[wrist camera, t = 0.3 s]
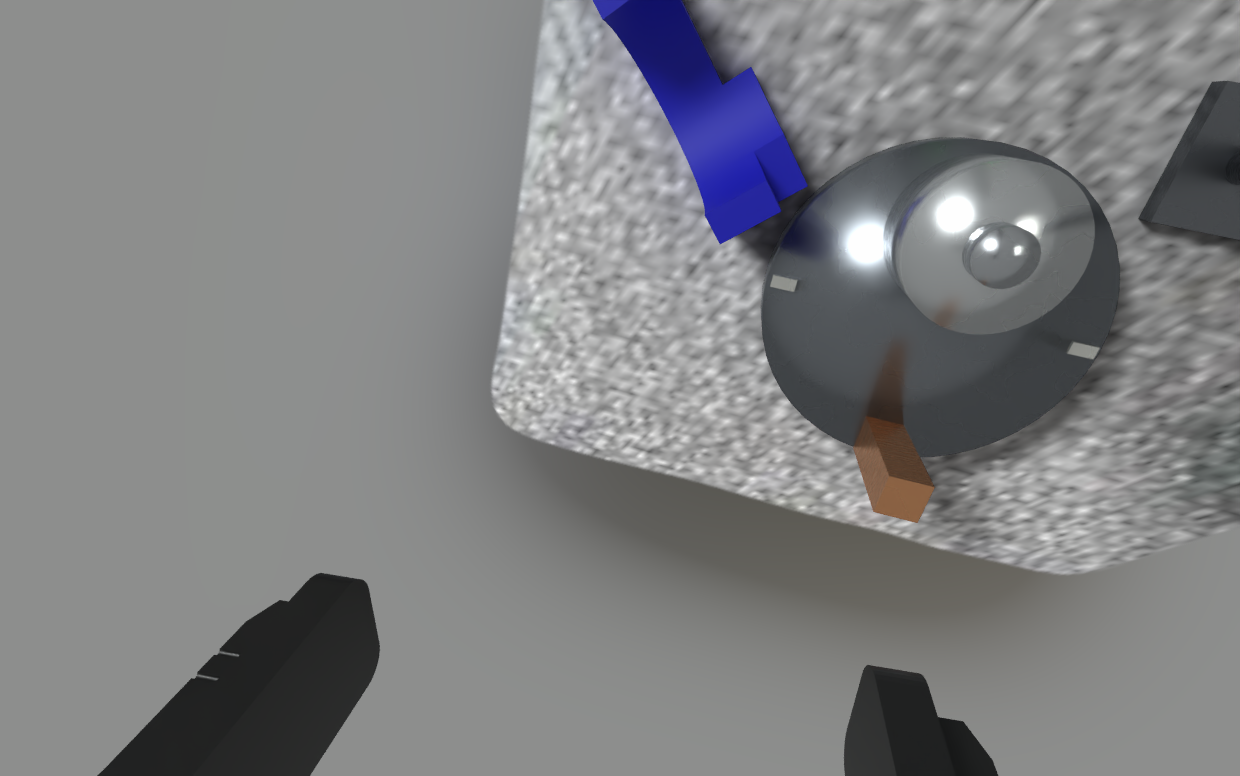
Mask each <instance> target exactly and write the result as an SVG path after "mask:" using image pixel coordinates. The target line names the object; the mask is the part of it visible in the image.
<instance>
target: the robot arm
mask: <svg viewBox="0 0 1240 776" xmlns="http://www.w3.org/2000/svg"><path fill="white" fill-rule="evenodd" d="M379 651H380V645H379V640H378V634H377V629H376V623H375V618H374V614H373V608H372V603H371V598H370V593H369V588H368V585H367V583H366V582H365V581H364V580H361V579H354V578H349V577H342V576H336V575H330V574H324V573H319V574H316V575H314V576H313V577H311V578H310V579H309V580H308V581H307V582H306V583H305V584H304V585H303V586H302V588H301V589H300V590H299V591H298V592H297V593H296V594H295V595H294V596H293V597H292V598H291V600H290V601H289V602H287V601H282V600H279V601H278V602H276V603H275V604H273V605H271V606H270V607H268V608H267V609H265V610H264V611H262V612H261V613H259V614H257V615H256V616H254V617H253V618H251V619H249V620H248V621H246V622H245V623H244V624H243V625H242V626H241V627H240V628H239V629H238V631H237V632H236V633H235V634H234V635H233V636H232V637H231V638H230V639H229V640H228V641H227V642H226V643H225V644H224V645H223V646H222V647H221V648H220V651H219V654H218V655H214V656H213V657H212V658H211V659H210V660H209V661H208V662H207V663H206V664H205V665H204V666H203V667H202V668H201V669H200V670H199V671H198V673H197V676H196V678H195V679H192V678H191V679H190V680H189V682H188V683H187V684H186V685H185V686H184V687H183V688H182V689H181V690H180V691H179V692H178V693H177V694H176V695H175V696H174V697H173V698H172V699H171V700H170V701H169V702H168V703H167V704H166V705H165V707H164V708H163V709H162V710H161V711H160V712H159V713H158V714H157V715H156V716H155V717H154V718H153V719H152V720H151V721H150V722H149V723H148V724H147V725H146V726H145V727H144V729H142V731H140V733H139V734H138V735H137V736H136V737H135V738H134V739H133V740H132V741H131V742H130V743H129V744H128V745H127V746H126V747H125V748H124V749H123V750H122V751H121V752H120V753H119V754H118V755H117V756H116V758H115V759H114V760H113V761H112V762H111V763H110V764H109V765H108V766H107V767H106V768H105V769H104V770H103V771H102V772H101V773H100V774H99V775H98V776H310V775H311V773H312V772H313V770H314V768H315V767H316V765H317V764H318V762H319V761H320V759H321V758H322V756H323V755H324V753H325V752H326V750H327V748H328V747H329V745H330V744H331V742H332V741H333V739H334V738H335V736H336V735H337V733H338V731H339V730H340V728H341V727H342V725H343V724H344V722H345V721H346V719H347V718H348V716H349V714H350V713H351V711H352V710H353V708H354V707H355V705H356V704H357V702H358V701H359V699H360V698H361V696H362V694H363V693H364V691H365V690H366V688H367V687H368V685H369V683H370V682H371V680H372V678H373V675H374V673H375V670H376V667H377V663H378V659H379ZM844 768H845V776H998V774H997V771H996V768H995V766H994V763H993V760H992V759H991V758H990V756H989V755H988V754H987V752H986V751H985V750H984V748H983V747H982V746H981V744H980V743H979V742H978V740H977V739H976V738H975V736H974V735H973V734H972V733H971V731H970V730H969V729H968V727H967V726H966V725H965V723H964V722H963V721H957V720H951V719H946V718H940V717H938V716H937V713H936V710H935V707H934V703H933V700H932V697H931V694H930V690H929V687H928V684H927V682H926V680H925V678H924V677H923V676H922V675H921V674H919V673H913V672H907V671H901V670H895V669H889V668H883V667H876V666H871V665H867V666H866V667H865V668H864V670H863V673H862V677H861V680H860V684H859V688H858V691H857V695H856V698H855V703H854V706H853V709H852V713H851V717H850V720H849V724H848V728H847V732H846V738H845V749H844Z"/></svg>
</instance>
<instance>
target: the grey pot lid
mask: <svg viewBox="0 0 1240 776" xmlns="http://www.w3.org/2000/svg"><path fill="white" fill-rule="evenodd" d="M974 153H987V154H995V155H1001V156H1006V157H1012V158H1017V159H1023V160H1028V161H1034V162H1038V163H1042V164H1045V165H1048V166H1051V167H1053V168H1055V169H1057V170H1059V171H1061V172H1062V173H1064V174H1065V175H1067V176H1069V177H1070V178H1071V179H1072V180H1073V181H1074V182H1075V183H1076V184H1077V185H1078V186H1079V187H1080V189H1081V190H1082V191H1083V193H1084V194H1085V196H1086V198H1087V200H1088V202H1089V204H1090V207H1091V210H1092V213H1093V218H1094V224H1095V238H1094V245H1093V250H1092V253H1091V257H1090V260H1089V262H1088V265H1087V267H1086V269H1085V271H1084V273H1083V275H1082V276H1081V278H1080V280H1079V281H1078V283H1077V284H1076V285H1075V287H1074V288H1073V289H1072V291H1071V292H1070V293H1069V294H1068V295H1067V296H1066V297H1065V298H1064V299H1063V300H1062V301H1061V302H1060V303H1059V304H1058V305H1057V306H1055V307H1054V308H1053V309H1052V310H1050V311H1049V312H1047V313H1046V314H1044V315H1043V316H1041V317H1040V318H1038V319H1036V320H1034V321H1032V322H1031V323H1028V324H1026V325H1024V326H1021V327H1019V328H1016V329H1012V330H1009V331H1006V332H1000V333H995V334H982V335H980V334H966V333H960V332H956V331H953V330H949V329H947V328H944V327H942V326H940V325H938V324H936V323H935V322H933V321H931V320H930V319H928V318H927V317H926V316H925V315H924V314H922V313H921V312H920V310H919V309H918V308H917V307H916V306H915V305H914V304H913V302H912V301H911V300H910V299H909V298H908V297H907V295H906V294H905V293H904V292H903V291H902V290H901V288H900V287H899V286H898V285H897V284H896V283H895V281H894V280H893V278H892V277H891V275H890V273H889V271H888V269H887V267H886V264H885V260H884V256H883V248H882V247H883V233H884V227H885V224H886V220H887V217H888V215H889V213H890V210H891V208H892V206H893V205H894V203H895V201H896V200H897V198H898V197H899V195H900V194H901V193H902V191H903V190H904V189H905V188H906V187H907V186H908V185H909V184H910V183H911V182H912V181H913V180H914V179H915V178H916V177H918V176H919V175H920V174H921V173H923V172H924V171H926V170H927V169H929V168H930V167H932V166H934V165H936V164H938V163H940V162H942V161H945V160H947V159H950V158H953V157H957V156H961V155H966V154H974ZM1119 286H1120V265H1119V259H1118V252H1117V245H1116V242H1115V239H1114V236H1113V233H1112V230H1111V227H1110V224H1109V222H1108V221H1107V219H1106V217H1105V215H1104V213H1103V211H1102V209H1101V208H1100V206H1099V204H1098V203H1097V202H1096V200H1095V199H1094V198H1093V196H1092V195H1091V194H1090V193H1089V191H1088V190H1087V189H1086V188H1085V187H1084V186H1083V185H1082V184H1081V183H1080V182H1079V181H1078V180H1077V179H1076V178H1075V177H1073V176H1072V175H1071V174H1070V173H1069V172H1068V171H1066V170H1065V169H1063V168H1062V167H1060V166H1058V165H1057V164H1055V163H1054V162H1052V161H1051V160H1049V159H1047V158H1045V157H1043V156H1040V155H1038V154H1036V153H1034V152H1031V151H1029V150H1027V149H1024V148H1020V147H1016V146H1012V145H1009V144H1005V143H1001V142H993V141H986V140H978V139H970V138H933V139H926V140H918V141H913V142H909V143H905V144H901V145H898V146H894V147H890V148H888V149H885V150H883V151H880V152H878V153H875V154H873V155H870V156H868V157H866V158H864V159H862V160H860V161H859V162H857V163H855V164H853V165H851V166H849V167H847V168H846V169H844V170H843V171H842V172H840V173H839V174H837V175H836V176H835V177H833V178H832V179H830V180H829V181H827V182H826V183H825V184H824V185H823V186H822V187H821V188H820V189H819V190H817V191H816V192H815V193H814V194H813V195H812V196H811V197H810V198H809V199H808V200H807V201H806V202H805V203H804V205H803V206H802V207H801V208H800V209H799V210H798V211H797V213H796V214H795V215H794V217H793V218H792V220H791V221H790V222H789V224H788V225H787V227H786V228H785V230H784V231H783V233H782V235H781V237H780V239H779V241H778V243H777V245H776V247H775V249H774V250H773V253H772V256H771V259H770V261H769V264H768V267H767V270H766V274H765V279H764V283H763V288H762V299H761V319H762V334H763V341H764V346H765V351H766V356H767V359H768V362H769V365H770V367H771V370H772V373H773V375H774V377H775V379H776V381H777V383H778V384H779V386H780V388H781V390H782V391H783V393H784V394H785V395H786V397H787V398H788V400H789V401H790V402H791V404H792V405H793V406H794V407H795V408H796V409H797V410H798V411H799V412H800V413H801V414H802V415H803V416H804V417H805V418H806V419H807V420H808V421H810V422H811V423H812V424H813V425H815V426H816V427H817V428H819V429H820V430H822V431H823V432H825V433H827V434H828V435H830V436H832V437H833V438H835V439H837V440H839V441H842V442H844V443H846V444H848V445H851V446H853V448H854V452H855V455H856V458H857V461H858V464H859V468H860V471H861V474H862V477H863V480H864V483H865V487H866V490H867V493H868V496H869V499H870V502H871V506H872V509H873V512H876V513H880V514H884V515H888V516H892V517H896V518H900V519H904V520H908V521H912V522H915V523H918V521H919V519H920V517H921V515H922V513H923V511H924V508H925V506H926V504H927V502H928V500H929V498H930V496H931V494H932V492H933V490H934V488H935V487H934V485H933V483H932V481H931V479H930V477H929V475H928V473H927V471H926V469H925V467H924V465H923V463H922V461H921V459H920V457H935V456H942V455H950V454H956V453H960V452H964V451H968V450H972V449H976V448H979V447H982V446H985V445H987V444H990V443H993V442H996V441H998V440H1000V439H1002V438H1005V437H1007V436H1009V435H1011V434H1013V433H1015V432H1017V431H1019V430H1021V429H1022V428H1024V427H1026V426H1027V425H1029V424H1031V423H1032V422H1034V421H1035V420H1037V419H1038V418H1040V417H1041V416H1042V415H1044V414H1045V413H1046V412H1048V411H1049V410H1050V409H1051V408H1053V407H1054V406H1055V405H1056V404H1057V403H1058V402H1060V401H1061V400H1062V399H1063V398H1064V397H1065V396H1066V395H1067V394H1068V393H1069V392H1070V391H1071V390H1072V389H1073V388H1074V387H1075V385H1076V384H1077V383H1078V382H1079V381H1080V379H1081V378H1082V377H1083V376H1084V375H1085V373H1086V372H1087V371H1088V369H1089V368H1090V366H1091V365H1092V363H1093V362H1094V360H1095V358H1096V357H1097V355H1098V354H1099V352H1100V350H1101V348H1102V346H1103V344H1104V342H1105V340H1106V337H1107V335H1108V333H1109V331H1110V327H1111V324H1112V321H1113V318H1114V315H1115V312H1116V307H1117V301H1118V295H1119Z"/></svg>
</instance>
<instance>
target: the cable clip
mask: <svg viewBox="0 0 1240 776" xmlns="http://www.w3.org/2000/svg"><path fill="white" fill-rule="evenodd" d="M593 2H594V4H595V6H596V8H597V10H598V11H599V13H600V15H601V17H602V19H603V20H604V21H605V22H606V23H607V24H608V25H609V26H610V27H611V28H612V29H613V30H614V32H615V33H616V34H617V36H618V37H619V38H620V40H621V41H622V43H623V44H624V45H625V47H626V48H627V50H628V51H629V53H630V55H631V56H632V58H633V59H634V61H635V62H636V64H637V66H638V67H639V69H640V71H641V72H642V74H643V76H644V77H645V79H646V81H647V82H648V84H649V86H650V88H651V89H652V91H653V93H654V95H655V97H656V98H657V100H658V102H659V104H660V106H661V108H662V110H663V111H664V113H665V115H666V117H667V119H668V121H669V123H670V125H671V127H672V129H673V131H674V133H675V135H676V137H677V139H678V141H679V143H680V145H681V147H682V150H683V152H684V154H685V156H686V158H687V160H688V163H689V165H690V167H691V170H692V172H693V174H694V177H695V179H696V182H697V185H698V187H699V190H700V193H701V196H702V199H703V203H704V207H705V217H706V218H707V220H708V222H709V224H710V226H711V228H712V230H713V232H714V234H715V236H716V238H717V240H718V241H719V243H720V244H722V243H724V242H725V241H727V240H729V239H731V238H733V237H735V236H737V235H738V234H740V233H742V232H744V231H746V230H748V229H750V228H751V227H753V226H755V225H757V224H759V223H761V222H763V221H764V220H766V219H768V218H770V217H772V216H774V215H776V214H777V213H779V212H781V209H780V206H779V203H778V202H779V201H781V200H783V199H785V198H787V197H789V196H790V195H792V194H794V193H796V192H798V191H800V190H801V189H803V188H805V187H807V186H808V185H807V183H806V181H805V179H804V177H803V175H802V173H801V170H800V168H799V166H798V164H797V162H796V160H795V157H794V155H793V153H792V151H791V149H790V147H789V145H788V142H787V140H786V138H785V136H784V134H783V132H782V130H781V128H780V126H779V124H778V122H777V120H776V118H775V116H774V114H773V112H772V110H771V108H770V105H769V103H768V101H767V99H766V97H765V95H764V93H763V91H762V89H761V87H760V85H759V82H758V80H757V78H756V76H755V74H754V72H753V70H752V68H751V67H750V68H748V69H747V70H745V71H744V72H742V73H741V74H739V75H737V76H736V77H734V78H733V79H731V80H730V81H728V82H727V83H725V84H722V82H721V80H720V78H719V76H718V74H717V72H716V70H715V68H714V66H713V64H712V61H711V59H710V57H709V55H708V53H707V51H706V49H705V47H704V45H703V43H702V41H701V39H700V37H699V35H698V32H697V30H696V28H695V26H694V24H693V22H692V20H691V18H690V16H689V14H688V12H687V10H686V8H685V6H684V3H683V1H682V0H593Z"/></svg>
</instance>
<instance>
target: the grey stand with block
mask: <svg viewBox="0 0 1240 776" xmlns="http://www.w3.org/2000/svg"><path fill="white" fill-rule="evenodd" d="M1139 219H1142V220H1146V221H1149V222H1154V223H1159V224H1163V225H1168V226H1173V227H1178V228H1183V229H1188V230H1193V231H1198V232H1203V233H1208V234H1212V235H1217V236H1222V237H1227V238H1232V239H1237V240H1240V83H1236V82H1231V81H1219V82H1212V83H1211V85H1210V87H1209V89H1208V91H1207V93H1206V94H1205V96H1204V98H1203V100H1202V102H1201V104H1200V106H1199V107H1198V109H1197V111H1196V113H1195V115H1194V117H1193V118H1192V120H1191V122H1190V124H1189V126H1188V128H1187V130H1186V131H1185V133H1184V135H1183V137H1182V139H1181V141H1180V143H1179V144H1178V146H1177V148H1176V150H1175V152H1174V154H1173V156H1172V157H1171V159H1170V161H1169V163H1168V165H1167V167H1166V169H1165V170H1164V172H1163V174H1162V176H1161V178H1160V180H1159V181H1158V183H1157V185H1156V187H1155V189H1154V191H1153V193H1152V194H1151V196H1150V198H1149V200H1148V202H1147V204H1146V206H1145V207H1144V209H1143V211H1142V213H1141V215H1140V217H1139Z"/></svg>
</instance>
